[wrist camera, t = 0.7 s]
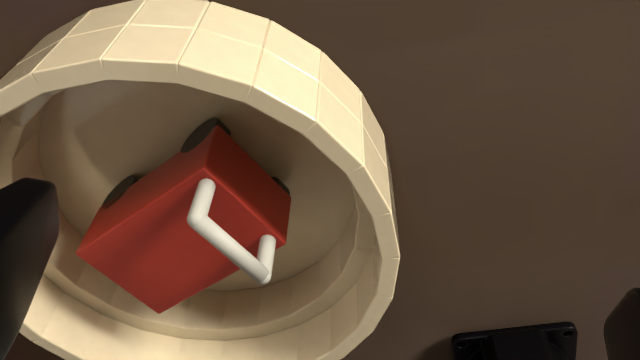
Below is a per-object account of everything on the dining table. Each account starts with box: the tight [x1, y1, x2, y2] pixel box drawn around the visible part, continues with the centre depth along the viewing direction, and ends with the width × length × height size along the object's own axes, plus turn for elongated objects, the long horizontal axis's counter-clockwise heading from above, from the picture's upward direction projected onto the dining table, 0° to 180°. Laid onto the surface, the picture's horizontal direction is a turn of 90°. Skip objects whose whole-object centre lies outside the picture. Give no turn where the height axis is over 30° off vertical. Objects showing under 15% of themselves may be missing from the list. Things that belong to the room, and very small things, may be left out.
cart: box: [75, 117, 291, 314], centre depth 22 cm, size 7×4×6 cm, turn 128°
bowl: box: [0, 0, 400, 360], centre depth 23 cm, size 16×16×6 cm
